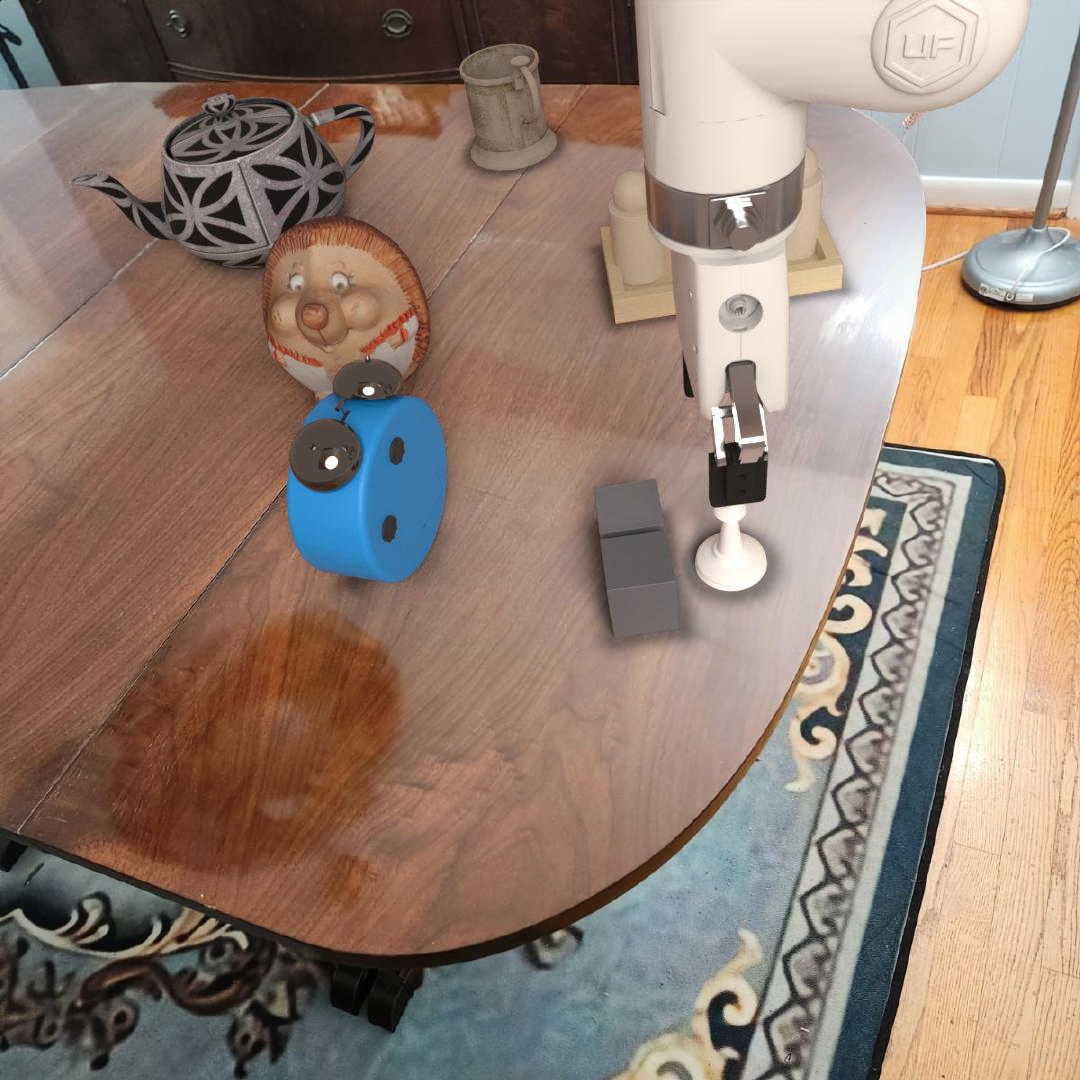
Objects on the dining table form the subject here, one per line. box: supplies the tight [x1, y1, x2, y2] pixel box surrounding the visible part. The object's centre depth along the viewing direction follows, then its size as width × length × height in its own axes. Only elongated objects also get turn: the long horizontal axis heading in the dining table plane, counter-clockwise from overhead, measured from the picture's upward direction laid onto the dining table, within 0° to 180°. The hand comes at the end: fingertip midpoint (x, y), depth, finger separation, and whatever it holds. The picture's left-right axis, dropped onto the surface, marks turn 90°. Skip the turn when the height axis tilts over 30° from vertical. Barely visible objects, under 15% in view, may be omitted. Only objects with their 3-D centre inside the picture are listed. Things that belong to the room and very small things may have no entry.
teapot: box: [68, 92, 376, 270], centre depth 103 cm, size 19×31×15 cm, turn 112°
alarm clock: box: [286, 355, 448, 584], centre depth 70 cm, size 13×6×15 cm, turn 162°
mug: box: [458, 43, 558, 172], centre depth 108 cm, size 14×10×12 cm
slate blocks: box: [593, 478, 680, 639], centre depth 69 cm, size 4×10×5 cm, turn 3°
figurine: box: [261, 215, 431, 403], centre depth 85 cm, size 14×16×15 cm
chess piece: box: [694, 504, 768, 592], centre depth 66 cm, size 5×5×10 cm
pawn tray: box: [599, 143, 845, 325], centre depth 89 cm, size 20×12×11 cm, turn 93°
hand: (722, 443), depth 62 cm, fingers open, 9 cm apart
